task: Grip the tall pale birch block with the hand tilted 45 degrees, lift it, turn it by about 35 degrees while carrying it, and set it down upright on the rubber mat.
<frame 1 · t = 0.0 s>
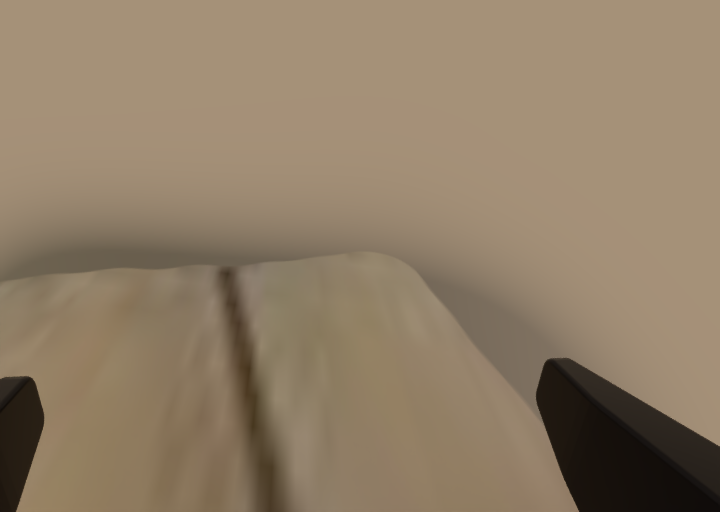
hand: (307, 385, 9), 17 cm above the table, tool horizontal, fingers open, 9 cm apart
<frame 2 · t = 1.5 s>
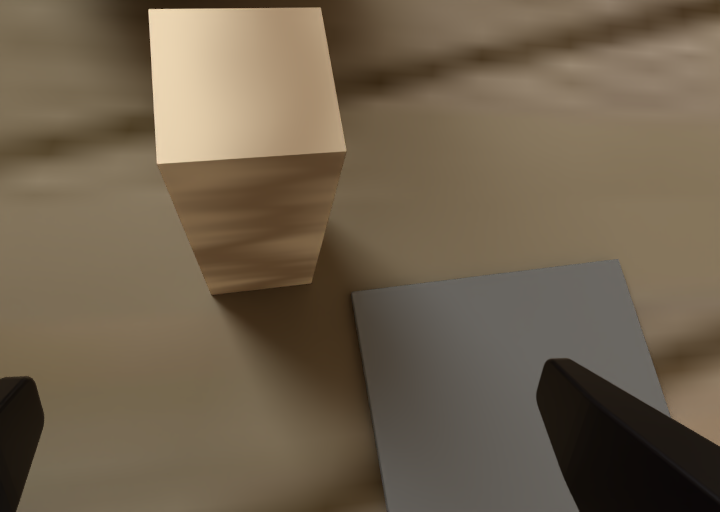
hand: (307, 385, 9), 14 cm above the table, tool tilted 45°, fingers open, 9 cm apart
birch block: (257, 242, 24), on the table
rubber mat: (538, 470, 23), on the table
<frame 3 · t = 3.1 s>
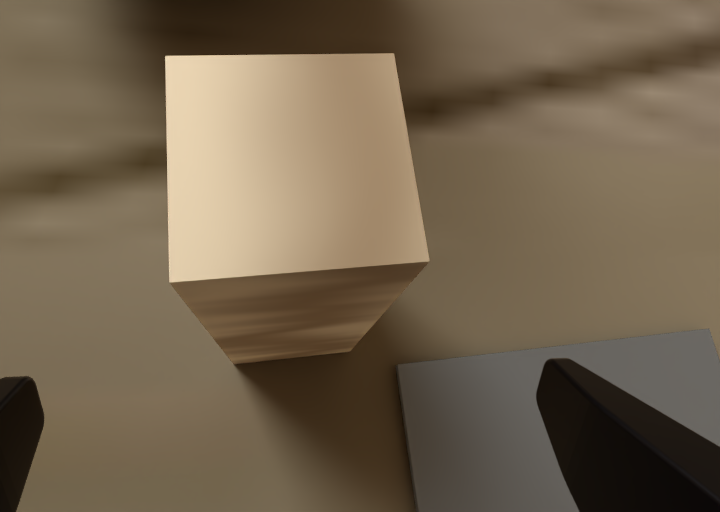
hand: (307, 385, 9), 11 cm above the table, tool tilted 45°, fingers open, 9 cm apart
birch block: (288, 301, 21), on the table
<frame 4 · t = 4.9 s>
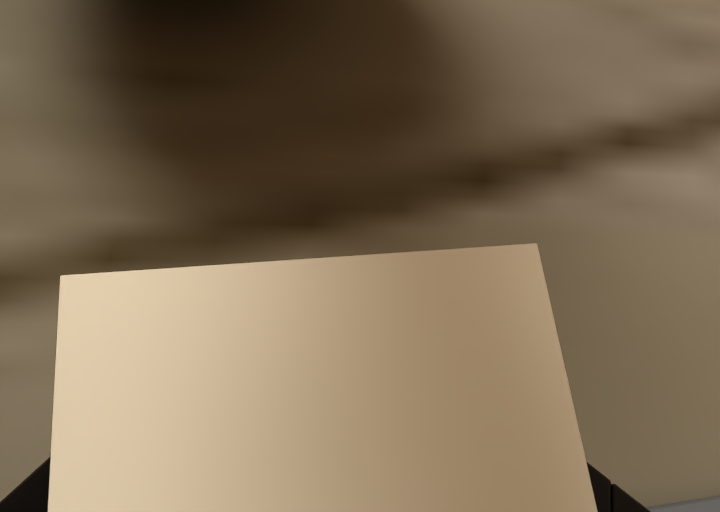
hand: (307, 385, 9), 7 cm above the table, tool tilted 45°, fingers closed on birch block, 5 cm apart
birch block: (298, 451, 16), on the table, touching gripper
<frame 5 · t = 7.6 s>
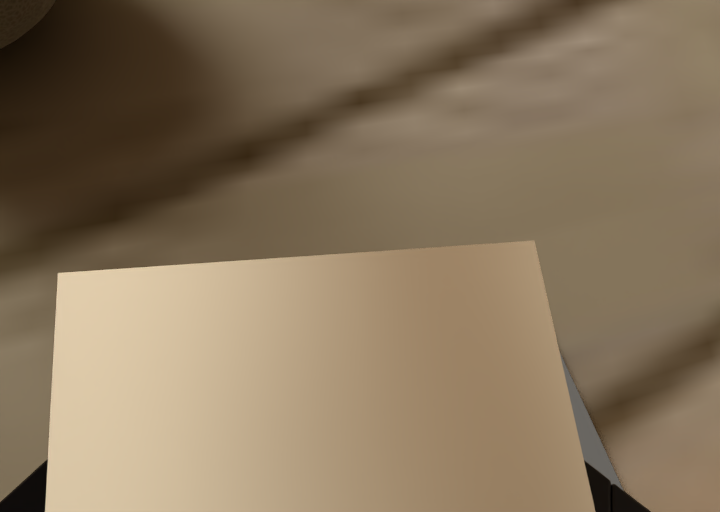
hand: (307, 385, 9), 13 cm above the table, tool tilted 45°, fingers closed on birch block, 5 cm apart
birch block: (297, 450, 16), point 6 cm above the table, touching gripper
when the fingers open (8 cm above the table, at t = 10.3 s): birch block stays where it is, resting on rubber mat.
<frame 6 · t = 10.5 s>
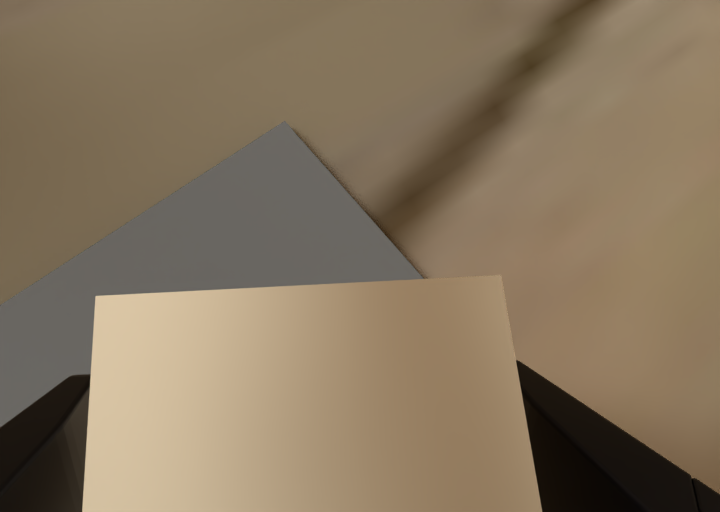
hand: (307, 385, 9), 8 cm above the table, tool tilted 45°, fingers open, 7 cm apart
birch block: (296, 449, 16), resting on rubber mat
rubber mat: (287, 435, 17), on the table
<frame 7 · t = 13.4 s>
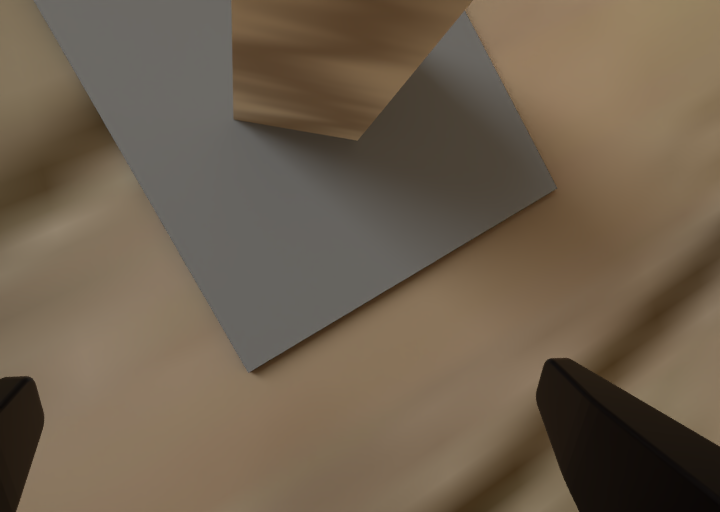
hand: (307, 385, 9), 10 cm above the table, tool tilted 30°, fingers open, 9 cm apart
birch block: (304, 70, 19), resting on rubber mat
rubber mat: (296, 61, 19), on the table
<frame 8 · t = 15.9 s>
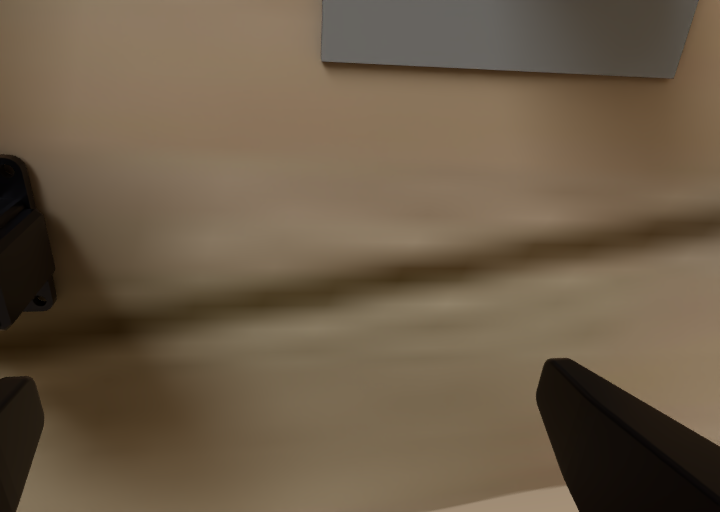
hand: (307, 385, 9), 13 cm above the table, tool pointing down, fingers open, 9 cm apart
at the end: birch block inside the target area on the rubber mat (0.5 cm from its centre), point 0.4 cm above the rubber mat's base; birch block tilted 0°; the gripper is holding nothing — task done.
